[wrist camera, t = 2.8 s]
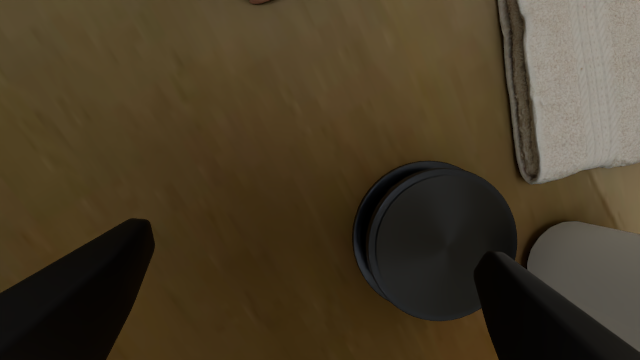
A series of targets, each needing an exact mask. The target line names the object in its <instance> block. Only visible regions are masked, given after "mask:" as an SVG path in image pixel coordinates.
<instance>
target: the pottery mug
mask: <svg viewBox="0 0 640 360" xmlns="http://www.w3.org/2000/svg"><path fill="white" fill-rule="evenodd" d="M249 1H250V2H251V3H252V4H259V3H264V2H267V1H270V0H249Z"/></svg>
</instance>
